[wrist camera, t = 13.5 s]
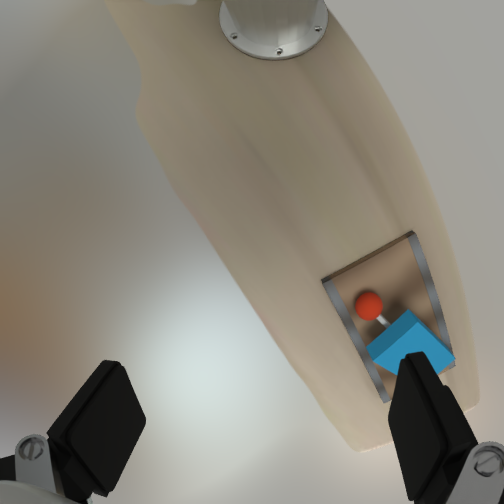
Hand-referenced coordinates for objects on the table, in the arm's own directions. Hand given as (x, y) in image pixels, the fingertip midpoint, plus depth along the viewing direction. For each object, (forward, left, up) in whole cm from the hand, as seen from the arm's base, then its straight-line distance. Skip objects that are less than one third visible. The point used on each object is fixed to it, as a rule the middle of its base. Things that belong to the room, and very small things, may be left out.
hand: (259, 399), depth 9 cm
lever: (+16, +15, -27) cm, 35 cm away
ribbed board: (+16, +16, -28) cm, 36 cm away
